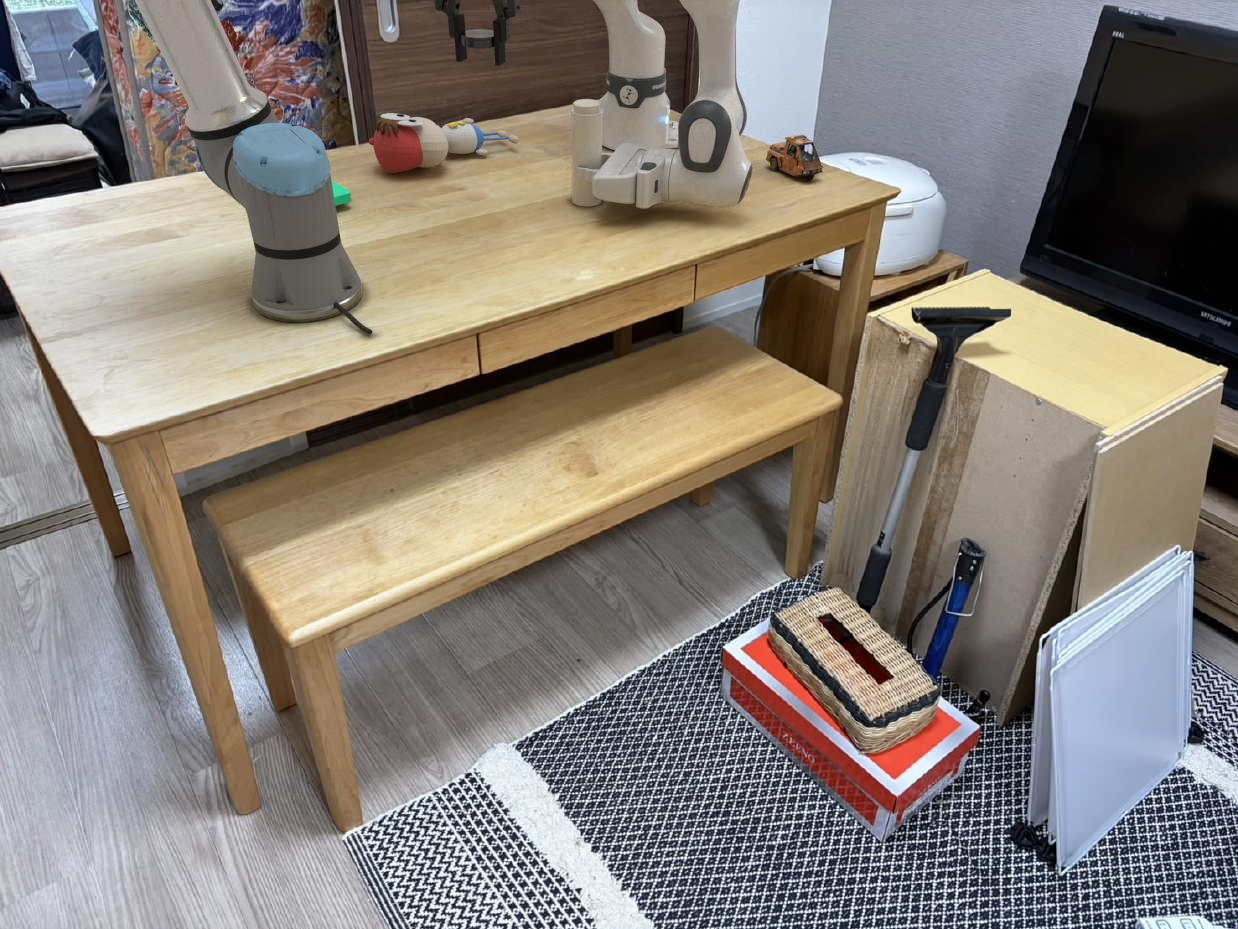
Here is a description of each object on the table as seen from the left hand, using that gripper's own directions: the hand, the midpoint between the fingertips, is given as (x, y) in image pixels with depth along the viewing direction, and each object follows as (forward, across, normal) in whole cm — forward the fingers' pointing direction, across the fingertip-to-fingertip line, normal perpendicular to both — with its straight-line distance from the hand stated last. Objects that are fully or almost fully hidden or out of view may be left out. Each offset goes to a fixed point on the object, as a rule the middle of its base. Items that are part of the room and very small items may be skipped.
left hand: (481, 61), depth 148 cm
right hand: (+19, +14, +10) cm, 25 cm away
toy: (+25, -18, +22) cm, 38 cm away
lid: (-4, 0, 0) cm, 4 cm away
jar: (+25, +15, +10) cm, 31 cm away
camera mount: (+25, -30, -6) cm, 40 cm away
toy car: (+25, +49, +38) cm, 67 cm away
